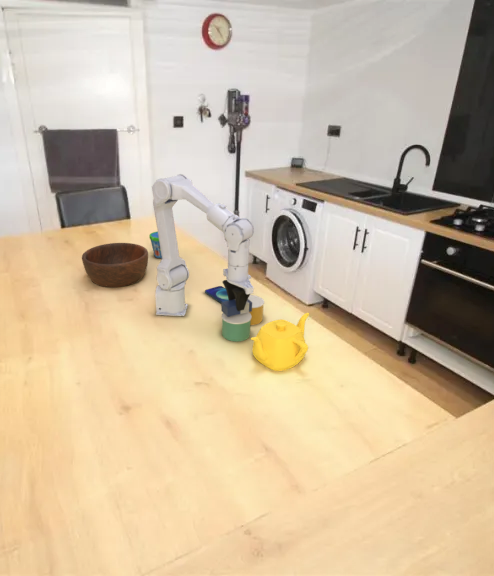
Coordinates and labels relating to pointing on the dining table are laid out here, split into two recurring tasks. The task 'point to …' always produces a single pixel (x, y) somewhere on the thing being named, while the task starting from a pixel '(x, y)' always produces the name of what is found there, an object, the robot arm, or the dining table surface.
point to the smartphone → (218, 293)
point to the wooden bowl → (115, 264)
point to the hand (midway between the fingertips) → (236, 306)
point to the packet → (234, 308)
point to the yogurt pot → (236, 327)
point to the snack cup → (155, 244)
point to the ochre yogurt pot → (256, 309)
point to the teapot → (280, 344)
